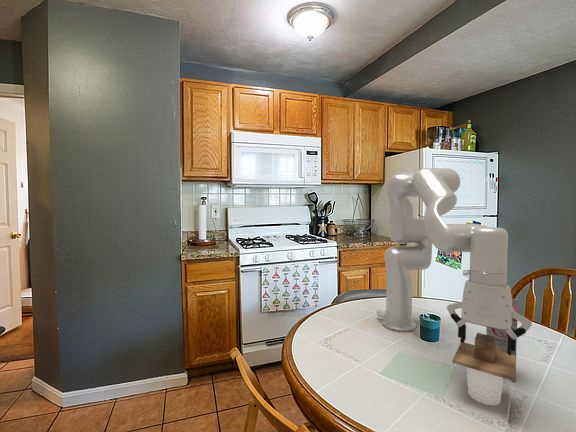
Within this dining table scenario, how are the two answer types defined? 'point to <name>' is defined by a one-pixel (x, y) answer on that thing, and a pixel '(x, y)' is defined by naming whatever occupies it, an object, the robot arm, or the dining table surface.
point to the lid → (486, 357)
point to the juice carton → (503, 334)
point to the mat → (418, 373)
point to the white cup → (484, 387)
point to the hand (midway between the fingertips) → (485, 346)
